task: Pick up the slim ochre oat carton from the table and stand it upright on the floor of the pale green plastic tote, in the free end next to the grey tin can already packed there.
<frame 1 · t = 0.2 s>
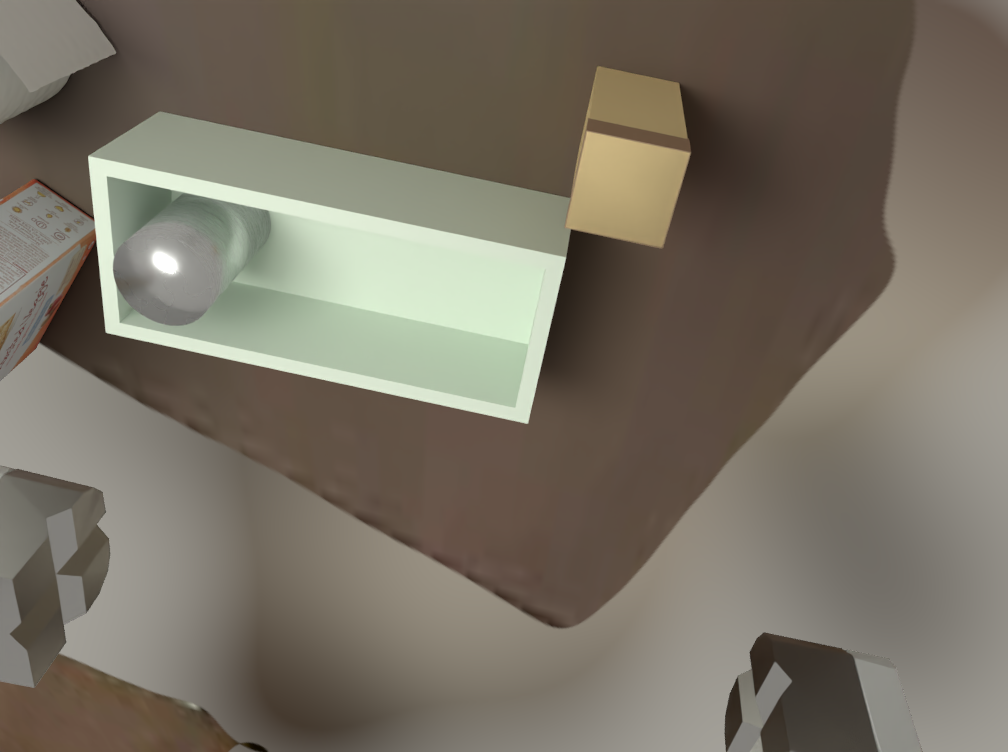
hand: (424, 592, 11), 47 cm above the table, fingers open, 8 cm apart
oat carton: (628, 115, 54), on the table
tin can: (228, 216, 60), point 1 cm above the table, touching tote
toilet tissue: (6, 16, 56), on the table
cracker box: (41, 266, 66), on the table
tote: (360, 237, 61), on the table
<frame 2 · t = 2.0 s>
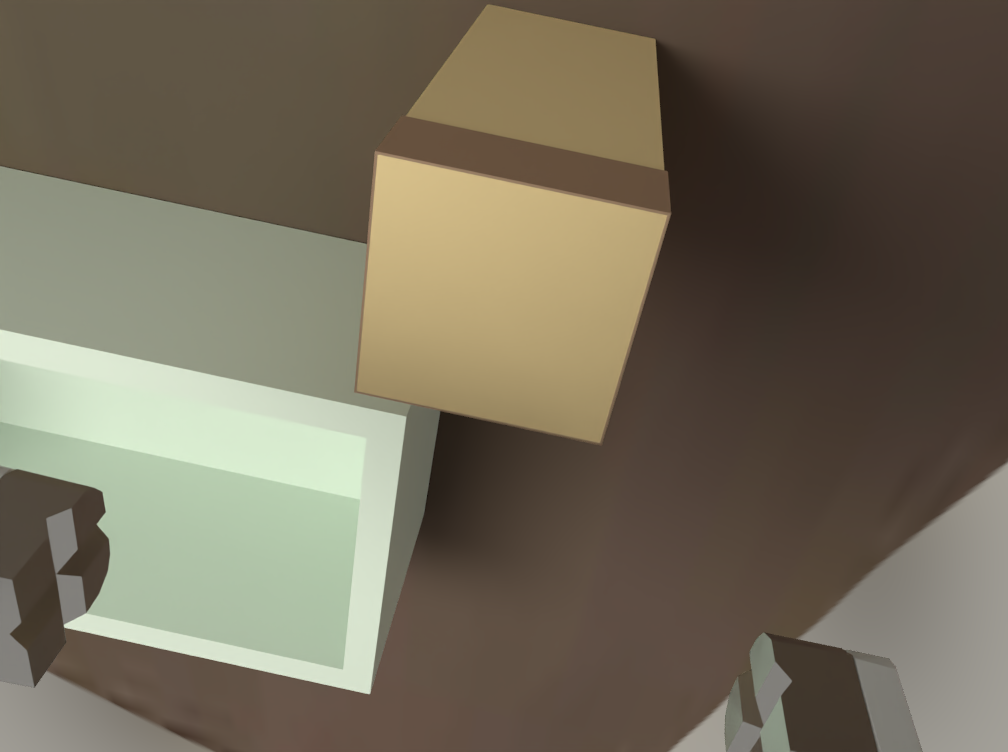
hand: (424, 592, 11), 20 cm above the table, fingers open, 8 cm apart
oat carton: (554, 105, 27), on the table
tote: (88, 326, 34), on the table
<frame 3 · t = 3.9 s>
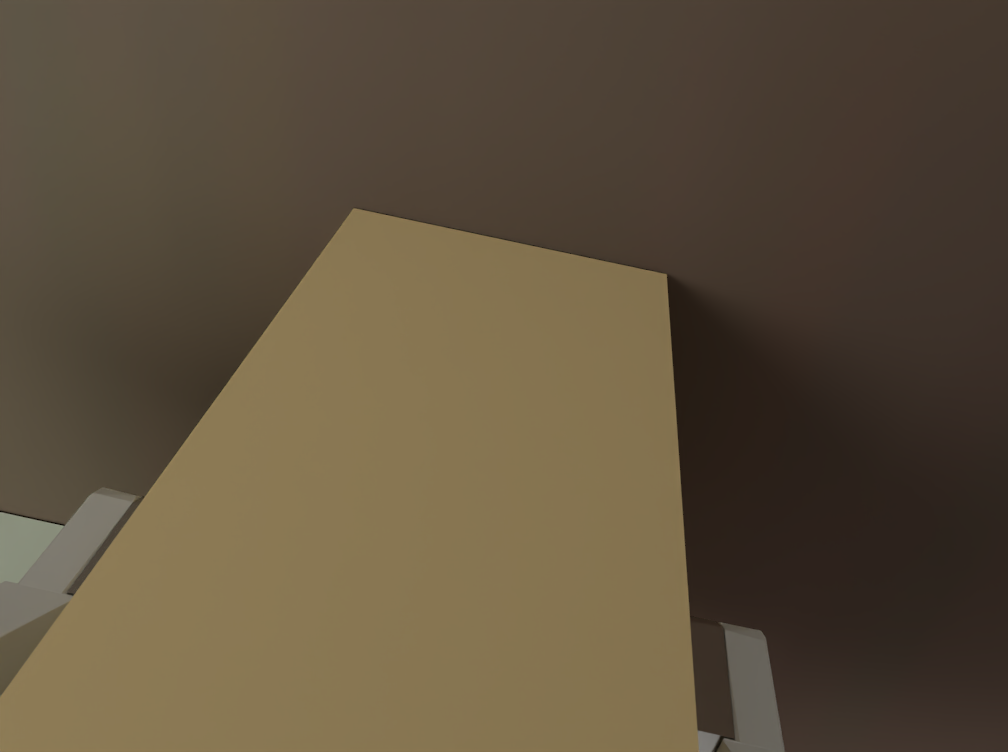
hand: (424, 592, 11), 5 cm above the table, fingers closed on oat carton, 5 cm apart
oat carton: (485, 372, 15), on the table, touching gripper
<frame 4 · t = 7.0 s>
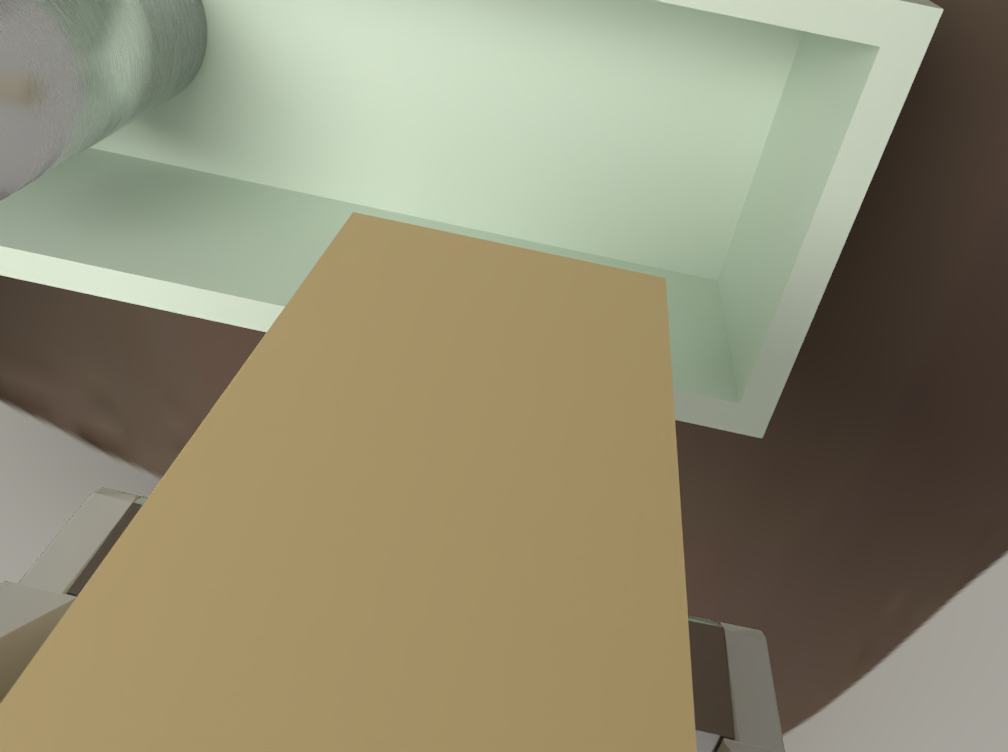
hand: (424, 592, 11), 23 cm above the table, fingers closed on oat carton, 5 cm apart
oat carton: (484, 375, 15), point 18 cm above the table, touching gripper
tin can: (120, 13, 29), point 1 cm above the table, touching tote
tote: (388, 61, 30), on the table
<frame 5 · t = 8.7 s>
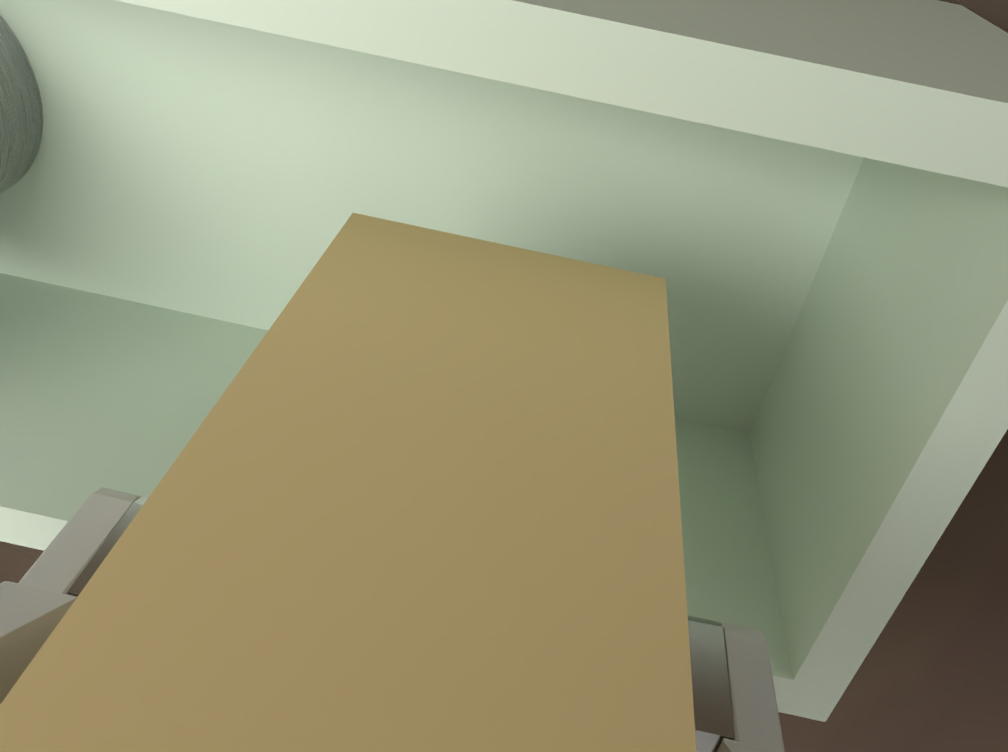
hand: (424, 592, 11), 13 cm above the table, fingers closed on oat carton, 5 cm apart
oat carton: (484, 376, 15), point 8 cm above the table, touching gripper
tote: (298, 143, 22), on the table
when the fingers open (8 cm above the table, at t = 10.2 s): oat carton drops 1 cm, resting on tote.
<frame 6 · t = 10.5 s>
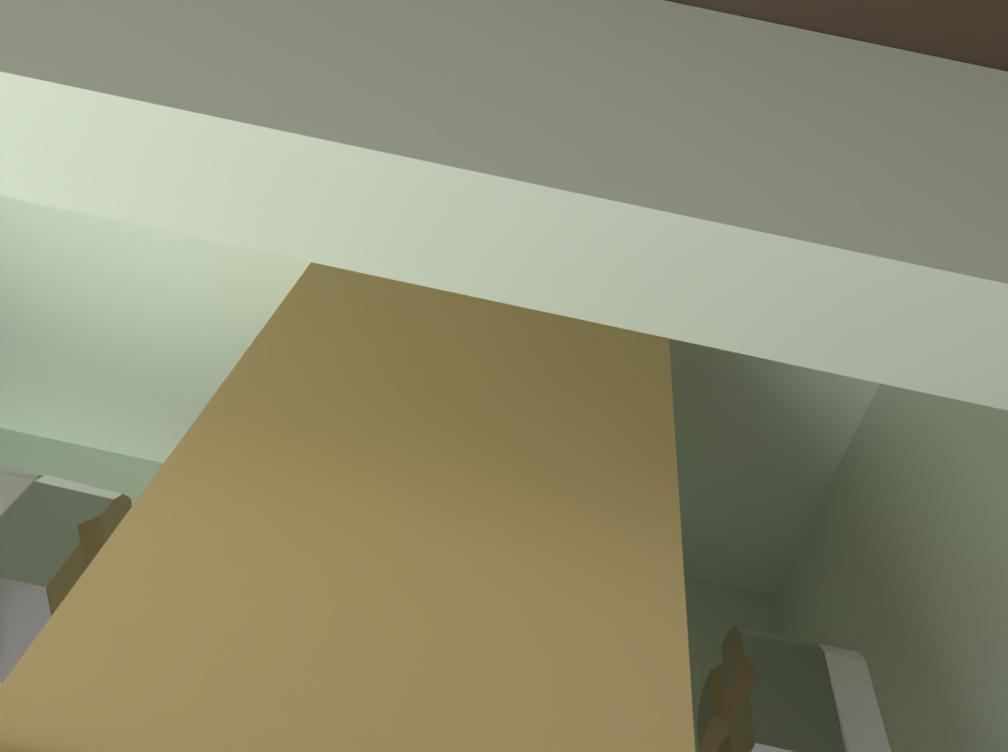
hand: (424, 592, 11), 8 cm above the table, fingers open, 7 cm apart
oat carton: (494, 329, 16), point 1 cm above the table, touching tote
tote: (204, 243, 17), on the table
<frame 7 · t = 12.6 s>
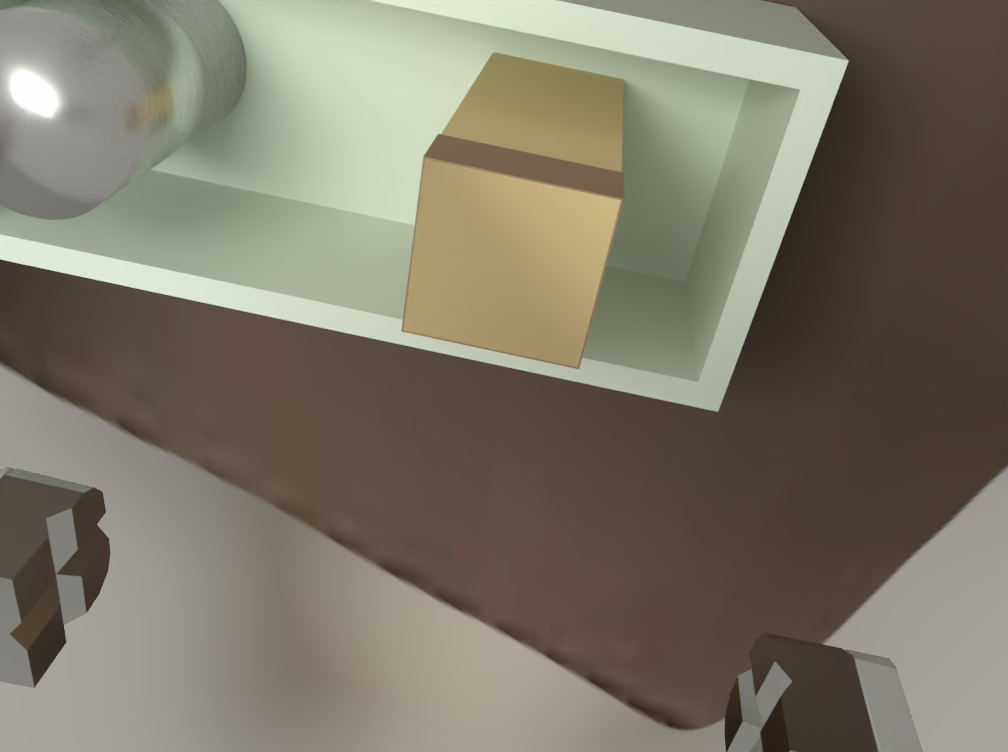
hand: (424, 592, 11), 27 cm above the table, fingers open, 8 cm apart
oat carton: (545, 130, 34), point 1 cm above the table, touching tote
tin can: (172, 53, 34), point 1 cm above the table, touching tote
tote: (401, 94, 35), on the table
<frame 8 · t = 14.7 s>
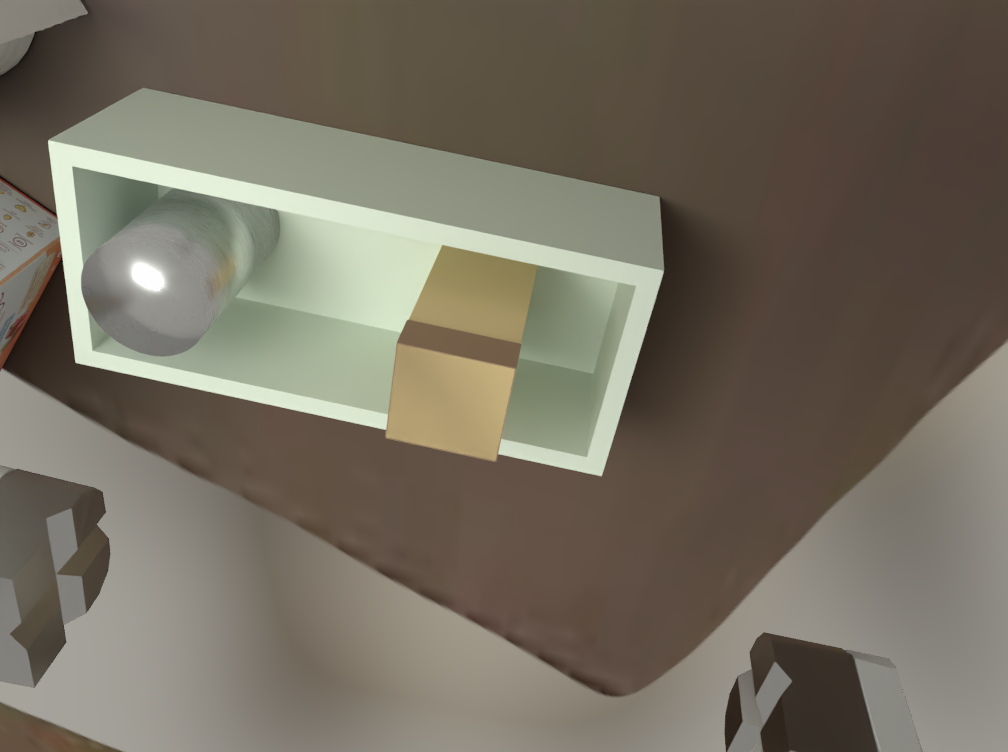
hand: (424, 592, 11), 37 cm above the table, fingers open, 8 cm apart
oat carton: (490, 272, 49), point 1 cm above the table, touching tote
tin can: (228, 217, 49), point 1 cm above the table, touching tote
cracker box: (2, 278, 54), on the table
tote: (389, 244, 49), on the table
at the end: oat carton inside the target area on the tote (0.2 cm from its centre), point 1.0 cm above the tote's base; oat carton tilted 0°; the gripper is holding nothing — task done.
